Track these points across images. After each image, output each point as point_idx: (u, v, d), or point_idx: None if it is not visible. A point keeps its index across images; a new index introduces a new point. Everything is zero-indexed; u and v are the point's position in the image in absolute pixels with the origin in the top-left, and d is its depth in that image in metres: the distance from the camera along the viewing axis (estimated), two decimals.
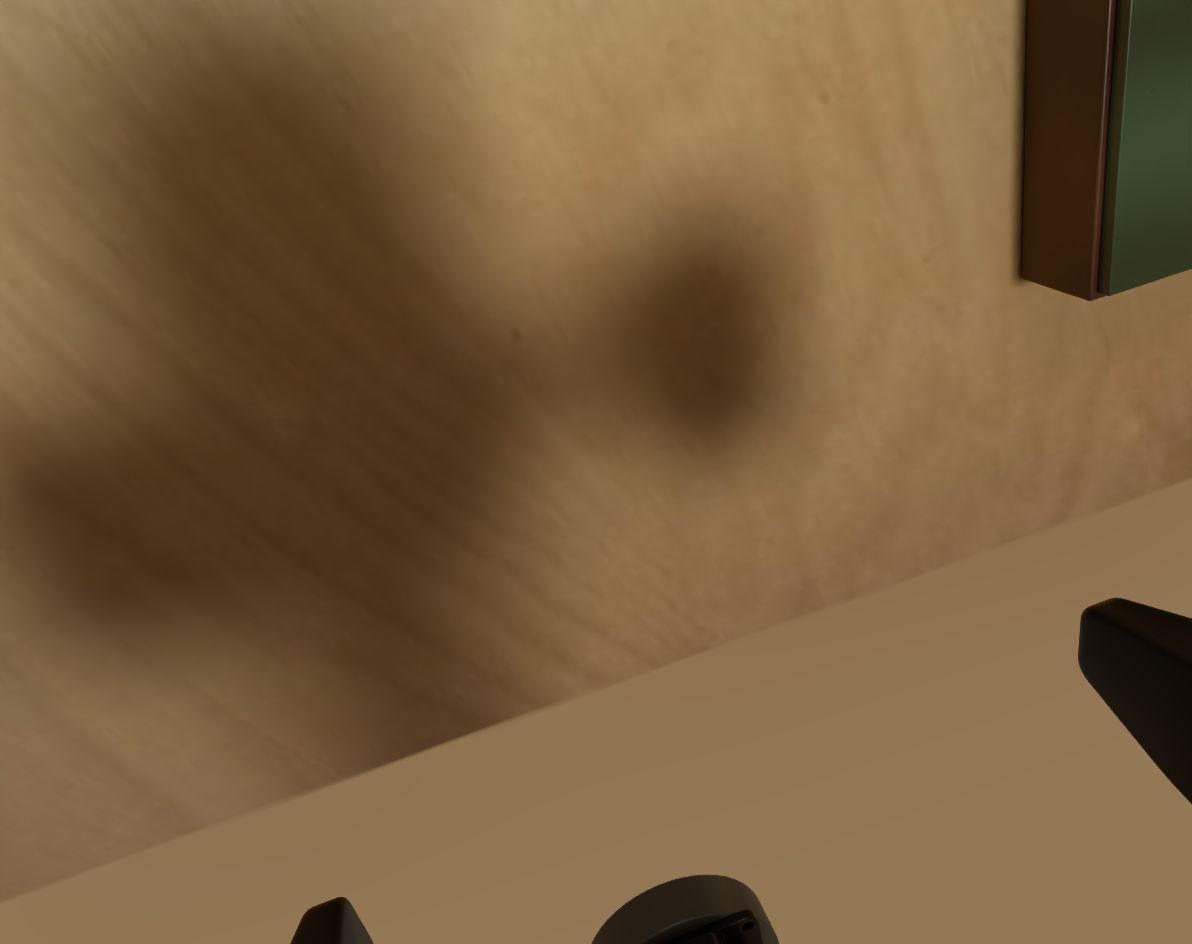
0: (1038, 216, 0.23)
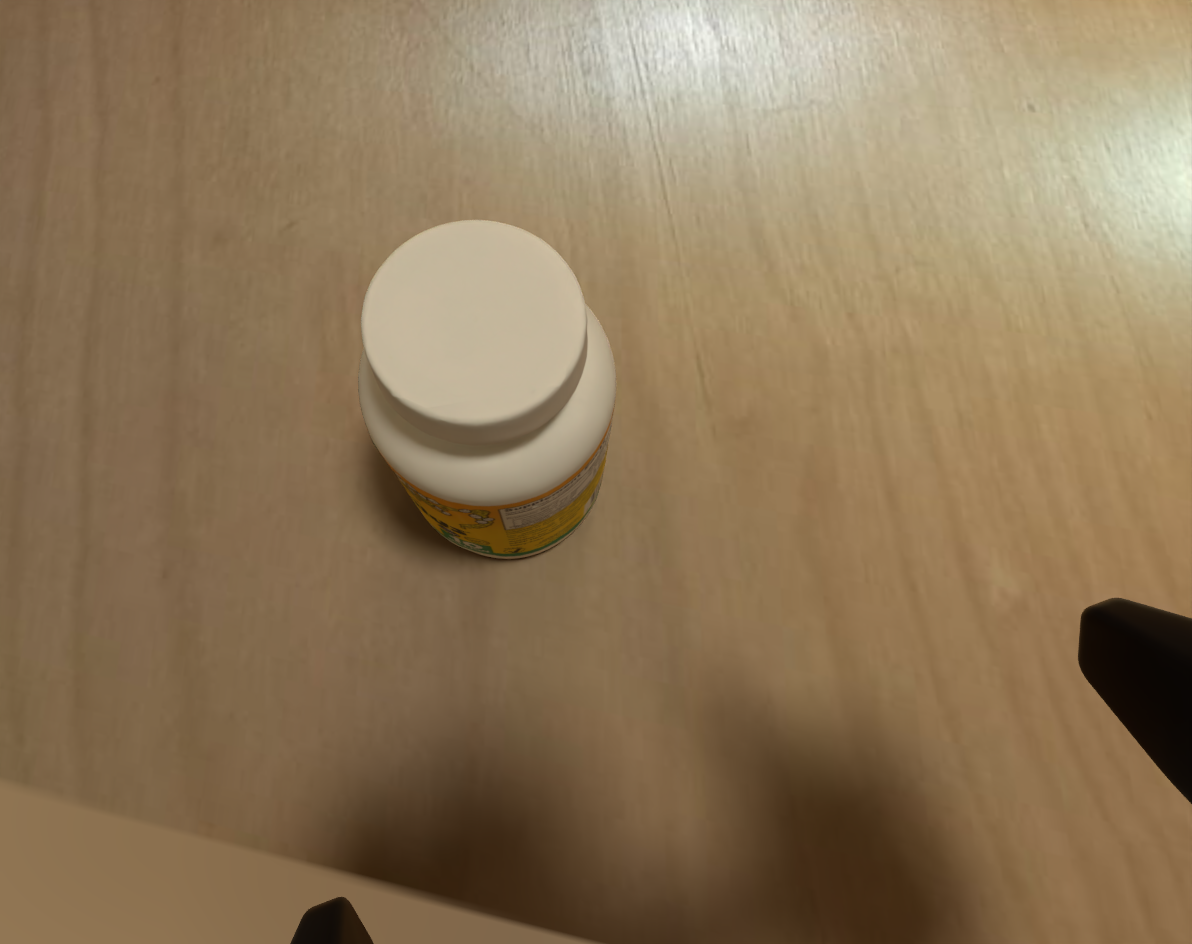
0: None
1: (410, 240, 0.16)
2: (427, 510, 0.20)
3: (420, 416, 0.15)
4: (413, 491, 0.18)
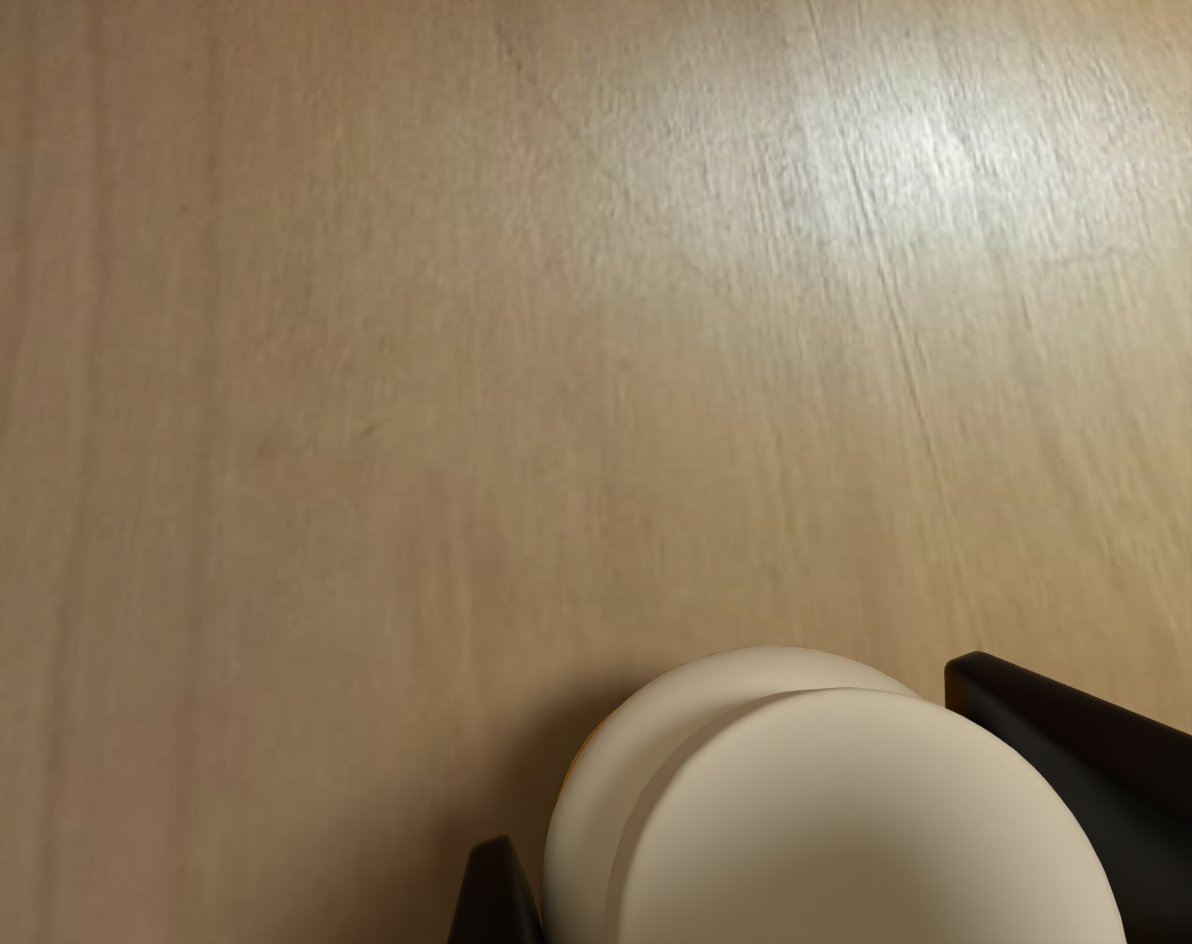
0: None
1: (718, 747, 0.07)
2: None
3: None
4: None
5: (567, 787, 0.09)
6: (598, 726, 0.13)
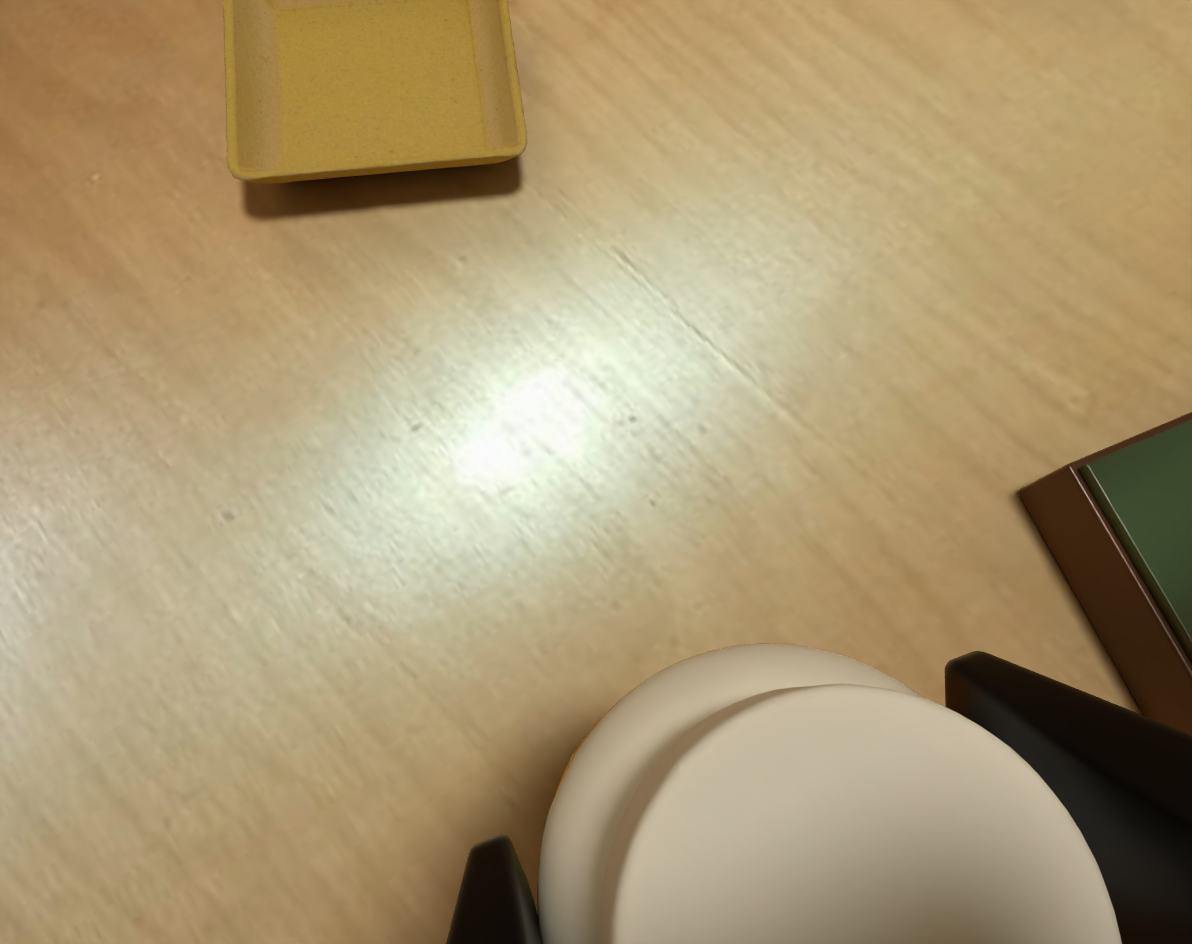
0: None
1: (713, 743, 0.07)
2: None
3: None
4: None
5: (563, 784, 0.09)
6: None
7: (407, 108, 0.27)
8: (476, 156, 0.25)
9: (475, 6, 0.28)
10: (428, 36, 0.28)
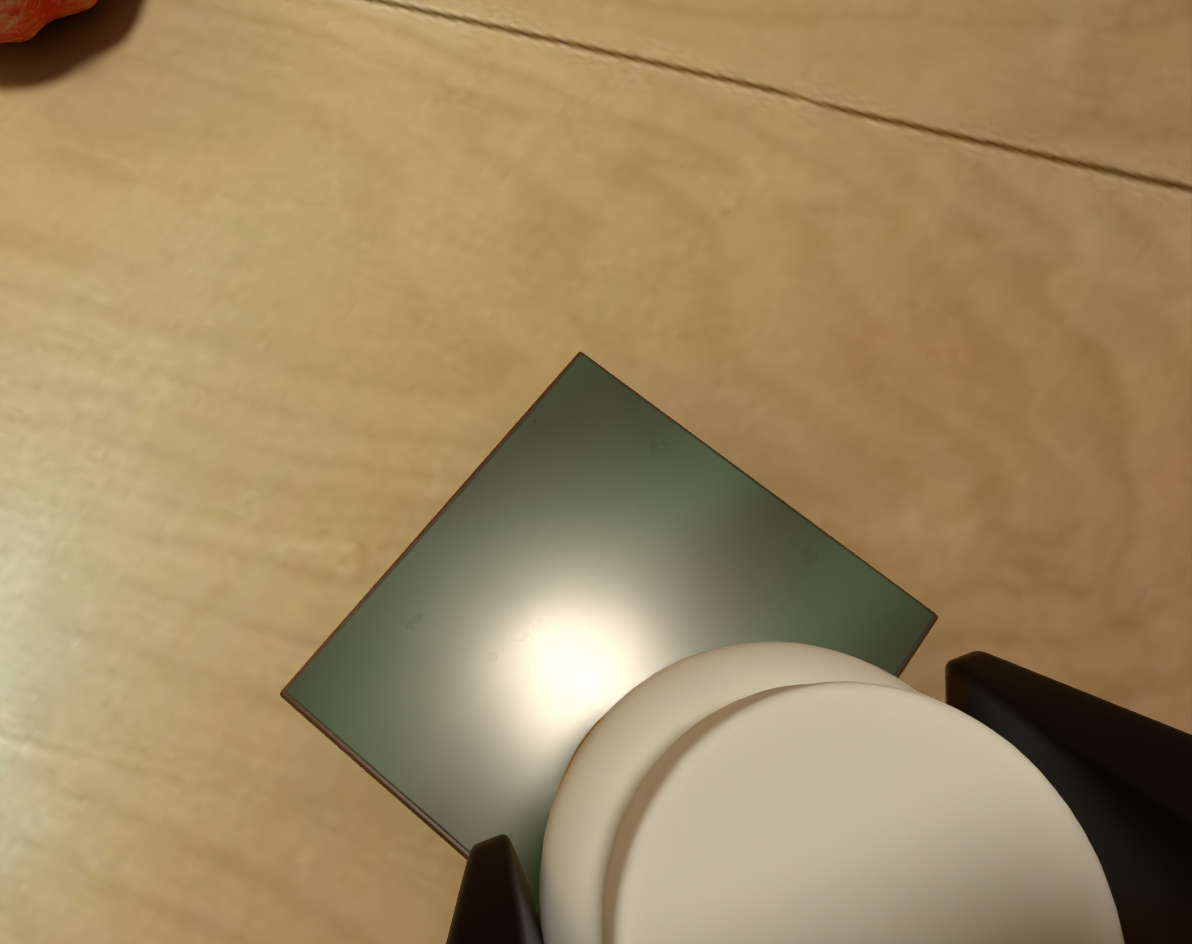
0: None
1: (715, 740, 0.07)
2: None
3: None
4: None
5: (565, 782, 0.09)
6: None
7: None
8: None
9: None
10: None
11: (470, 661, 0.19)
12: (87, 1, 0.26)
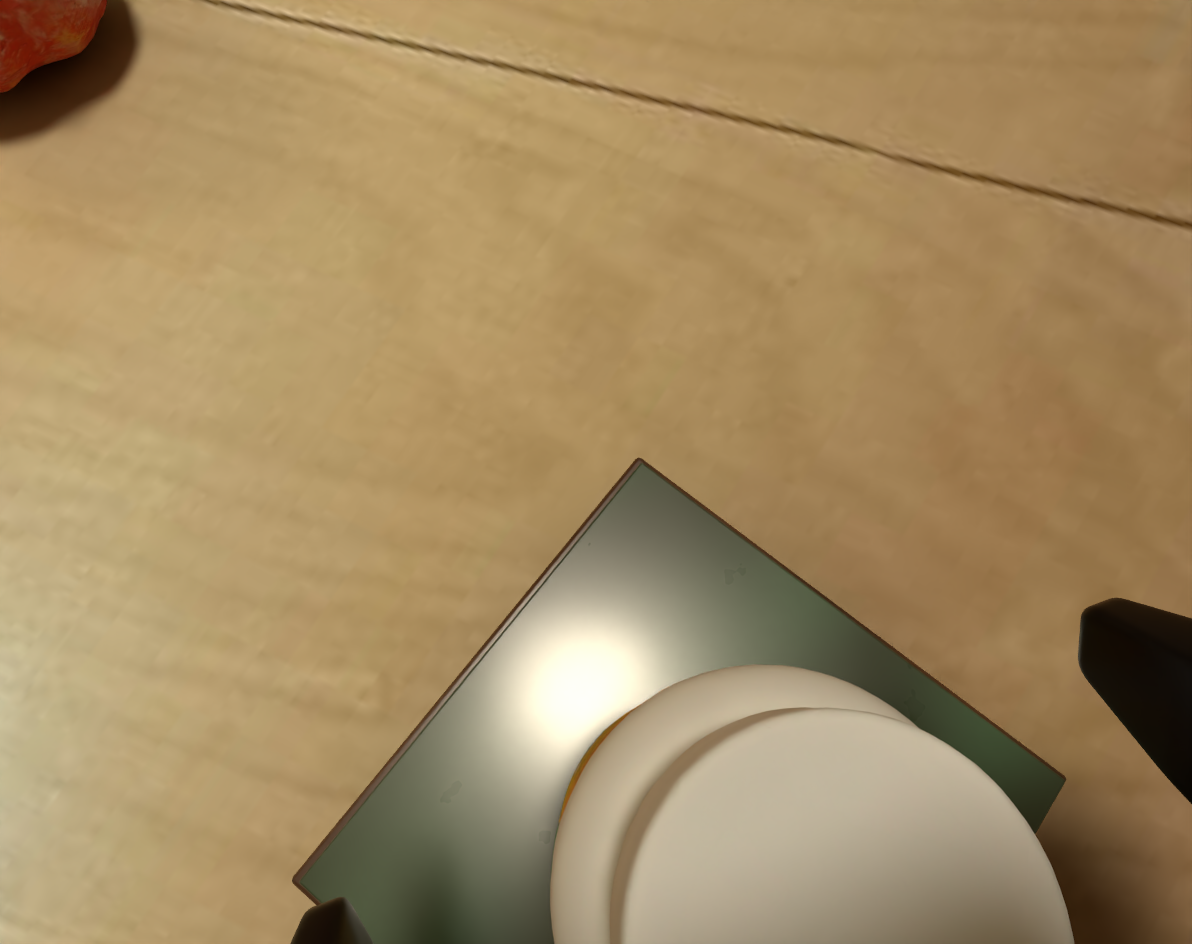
0: None
1: (710, 762, 0.08)
2: None
3: None
4: None
5: (573, 796, 0.10)
6: (600, 737, 0.14)
7: None
8: None
9: None
10: None
11: (518, 843, 0.16)
12: (74, 48, 0.23)
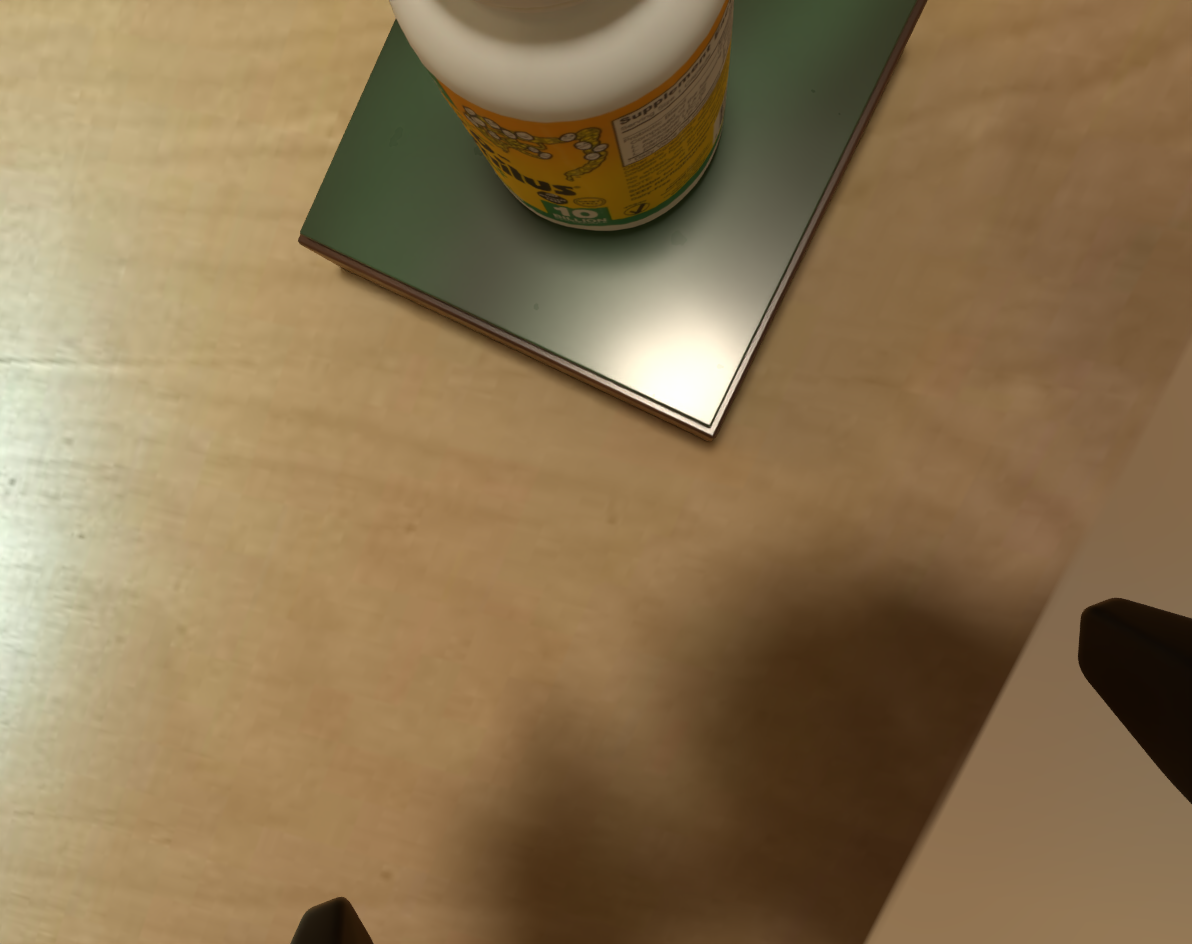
0: (642, 409, 0.22)
1: None
2: (520, 168, 0.16)
3: None
4: (496, 133, 0.14)
5: None
6: None
7: None
8: None
9: None
10: None
11: (459, 160, 0.20)
12: None
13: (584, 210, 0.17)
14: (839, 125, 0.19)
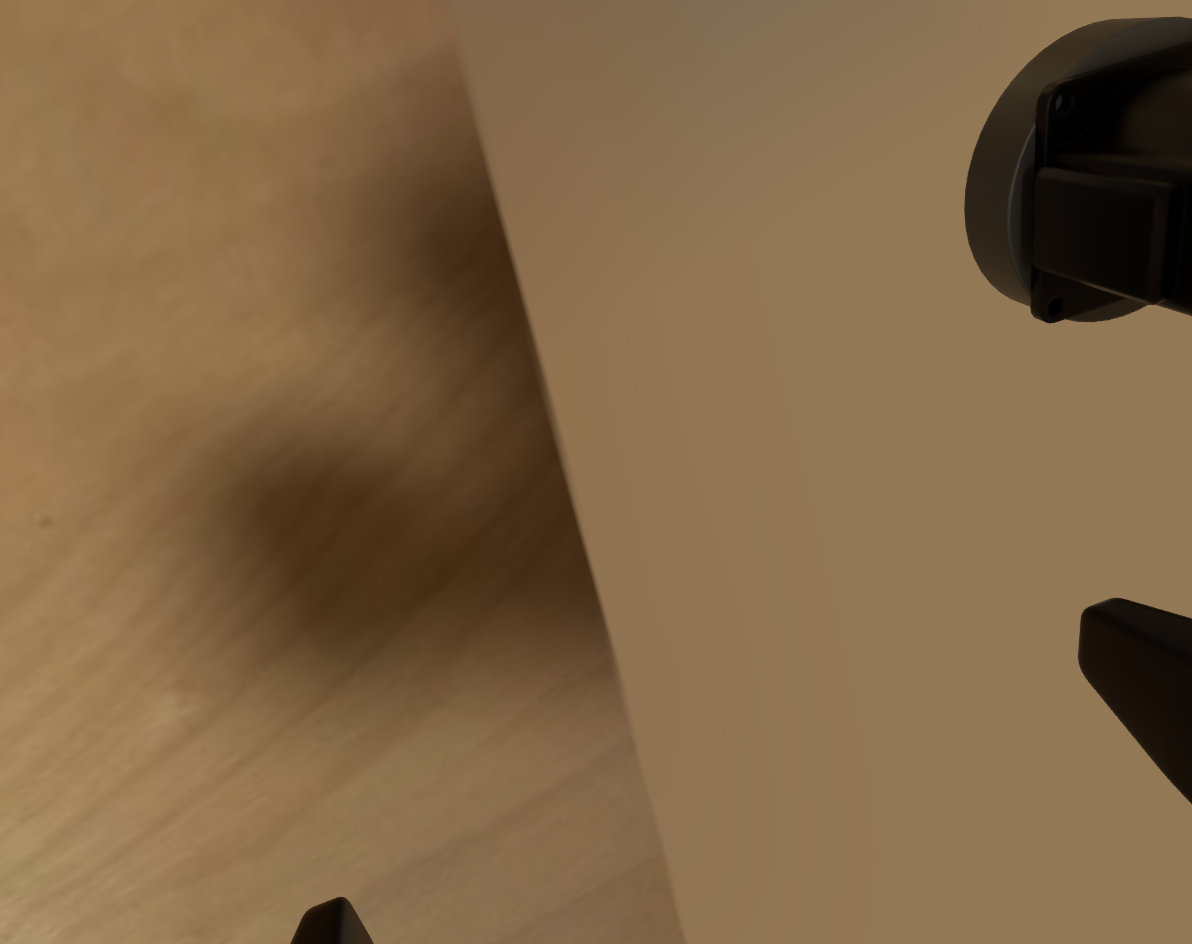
0: None
1: None
2: None
3: None
4: None
5: None
6: None
7: None
8: None
9: None
10: None
11: None
12: None
13: None
14: None
